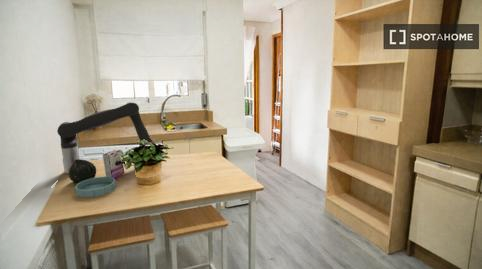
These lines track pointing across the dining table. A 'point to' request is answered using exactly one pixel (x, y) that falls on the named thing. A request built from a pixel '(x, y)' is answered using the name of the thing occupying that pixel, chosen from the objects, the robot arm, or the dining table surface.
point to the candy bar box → (113, 164)
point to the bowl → (95, 187)
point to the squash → (81, 171)
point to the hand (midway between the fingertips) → (112, 163)
